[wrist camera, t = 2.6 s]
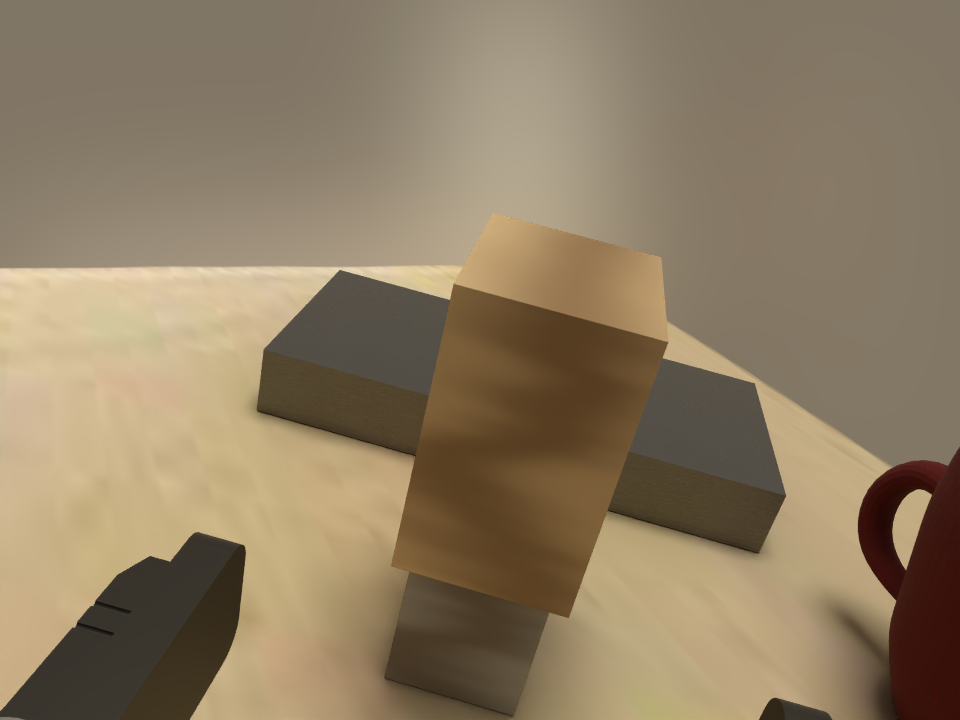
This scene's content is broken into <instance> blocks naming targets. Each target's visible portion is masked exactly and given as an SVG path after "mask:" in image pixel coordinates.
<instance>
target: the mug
mask: <svg viewBox="0 0 960 720" xmlns="http://www.w3.org/2000/svg"><path fill="white" fill-rule="evenodd" d="M917 489H922V490H925V491H927V492H929V493H930V494H932V497H931V499H930V502H929V504H928V506H927V509H926V512H925V514H924V517H923V520H922V523H921V526H920V529H919V532H918V536H917V539H916V542H915V545H914V548H913V551H912V554H911V557H910V560H909V563H908V567H907V570H905V568H904V567H903V565H902V564H901V562H900V560H899V558H898V555H897V553H896V550H895V547H894V543H893V535H892V528H893V521H894V517H895V514H896V511H897V509H898V507H899V505H900V503H901V502H902V500H903V499H904V498H905V497H906V496H907V495H908V494H909V493H911V492H913V491H915V490H917ZM858 535H859V542H860V545H861V549H862V552H863V554H864V557H865V559H866V561H867V563H868V565H869V566H870V568H871V570H872V571H873V573H874V574H875V576H876V577H877V578H878V580H879V581H880V582H881V584H882V585H883V586H884V587H885V589H886V590H887V591H888V592H889V593H890V594H891V595H892V597H893V598H894V599H895V600H896V604H895V607H894V611H893V614H892V618H891V623H890V630H889V663H890V674H891V684H892V695H893V703H894V707H895V710H896V713H897V715H898V718H899V720H960V448H959V449H958V450H957V452H956V454H955V455H954V457H953V459H952V460H951V462H950V464H949V465H948V466H946V465H944V464H941V463H939V462H932V461H925V460H921V461H911V462H907V463H904V464H900V465H897V466H895V467H893V468H891V469H889V470H888V471H886V472H885V473H884V474H883V475H881V476H880V477H879V478H878V479H876V481H875V482H874V483H873V484H872V485H871V487H870V488H869V489H868V491H867V493H866V495H865V497H864V499H863V502H862V505H861V508H860V512H859V517H858Z"/></svg>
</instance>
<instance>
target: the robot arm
mask: <svg viewBox="0 0 960 720" xmlns="http://www.w3.org/2000/svg"><path fill="white" fill-rule="evenodd" d="M245 556H246V550H245V546H244V545H241V544H238V543H234V542H231V541H227V540H224V539H220V538H217V537H213V536H209V535H206V534H202V533H199V532H196V533H194V534H193V535H192V536H191V537H190V538H189V539H188V540H187V541H186V543H185V544H184V545H183V546H182V548H181V549H180V550H179V552H178V553H177V554H176V555H175V557H174V558H173V559H172V560H171V562H169V561H166V560H162V559H159V558H155V557H152V556H149V557H148V558H146V559H144V560H142V561H141V562H139V563H137V564H135V565H134V566H132V567H130V568H128V569H127V570H125V571H123V572H122V573H120V574H118V575H117V576H116V577H115V578H114V580H113V581H112V582H111V583H110V584H109V585H108V587H107V588H106V589H105V590H104V591H103V592H102V594H101V595H100V596H99V597H98V598H97V599H96V601H95V604H94V606H90V608H89V609H88V610H87V611H86V612H85V613H84V615H83V616H82V617H81V618H80V619H79V620H78V622H77V625H76V627H75V628H72V629H71V630H70V631H69V632H68V633H67V634H66V636H65V637H64V638H63V639H62V640H61V641H60V643H59V644H58V645H57V646H56V647H55V648H54V650H53V651H52V652H51V653H50V654H49V655H48V657H47V658H46V659H45V660H44V661H43V662H42V664H41V665H40V666H39V667H38V668H37V670H36V671H35V672H34V673H33V674H32V675H31V677H30V678H29V679H28V680H27V681H26V682H25V684H24V685H23V686H22V687H21V688H20V689H19V691H18V692H17V693H16V694H15V695H14V696H13V698H12V699H11V700H10V701H9V702H8V703H7V705H6V706H5V707H4V708H3V709H2V710H1V711H0V720H190V718H191V716H192V715H193V713H194V711H195V710H196V708H197V706H198V705H199V703H200V701H201V700H202V698H203V696H204V695H205V693H206V691H207V689H208V688H209V686H210V684H211V683H212V681H213V679H214V678H215V676H216V674H217V673H218V671H219V669H220V668H221V666H222V664H223V662H224V661H225V659H226V657H227V655H228V652H229V650H230V648H231V645H232V642H233V640H234V637H235V633H236V630H237V626H238V620H239V612H240V603H241V594H242V584H243V575H244V566H245ZM759 720H832V719H831V717H830V715H829V714H828V713H826V712H824V711H821V710H817V709H814V708H810V707H807V706H803V705H800V704H796V703H793V702H789V701H785V700H782V699H778V698H773V699H771V700H770V701H769V702H768V704H767V705H766V707H765V709H764V711H763V713H762V715H761V717H760V719H759Z"/></svg>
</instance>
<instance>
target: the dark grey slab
mask: <svg viewBox="0 0 960 720" xmlns="http://www.w3.org/2000/svg"><path fill="white" fill-rule="evenodd" d="M449 303H450V300H448V299H444V298H440V297H437V296H433V295H429V294H426V293H422V292H418V291H415V290H411V289H407V288H404V287H400V286H396V285H393V284H389V283H385V282H382V281H378V280H374V279H371V278H367V277H363V276H360V275H356V274H352V273H349V272H345V271H342V270H339V271H338V272H337V273H336V275H335V276H334V277H333V278H332V279H331V280H330V281H329V282H328V283H327V284H326V285H325V286H324V287H323V288H322V289H321V290H320V291H319V292H318V293H317V294H316V295H315V296H314V298H313V299H312V300H311V301H310V302H309V303H308V304H307V305H306V306H305V307H304V308H303V309H302V310H301V311H300V312H299V313H298V314H297V315H296V316H295V317H294V318H293V319H292V321H291V322H290V323H289V324H288V325H287V326H286V327H285V328H284V329H283V330H282V331H281V332H280V333H279V334H278V335H277V336H276V337H275V338H274V339H273V340H272V341H271V342H270V344H269V345H268V346H267V347H266V348H265V349H264V352H263V361H262V370H261V379H260V387H259V396H258V405H257V410H258V411H261V412H265V413H268V414H272V415H275V416H279V417H282V418H286V419H289V420H293V421H296V422H300V423H303V424H307V425H310V426H314V427H317V428H321V429H324V430H328V431H331V432H335V433H338V434H342V435H345V436H349V437H353V438H356V439H360V440H363V441H367V442H370V443H374V444H377V445H381V446H384V447H388V448H391V449H395V450H398V451H402V452H405V453H409V454H412V455H416V452H417V447H418V443H419V438H420V434H421V429H422V425H423V420H424V416H425V411H426V407H427V402H428V398H429V393H430V389H431V384H432V380H433V375H434V371H435V366H436V362H437V357H438V352H439V348H440V343H441V339H442V334H443V330H444V325H445V321H446V316H447V312H448V307H449ZM785 497H786V494H785V490H784V486H783V483H782V479H781V476H780V472H779V469H778V465H777V461H776V458H775V454H774V451H773V447H772V444H771V440H770V437H769V433H768V429H767V426H766V422H765V419H764V415H763V412H762V408H761V404H760V401H759V397H758V394H757V390H756V387H755V383H751V382H747V381H744V380H740V379H736V378H733V377H729V376H725V375H722V374H718V373H714V372H711V371H707V370H703V369H700V368H696V367H692V366H689V365H685V364H682V363H678V362H674V361H671V360H667V359H663V358H662V361H661V364H660V366H659V369H658V372H657V375H656V377H655V380H654V383H653V386H652V388H651V391H650V394H649V397H648V399H647V402H646V405H645V408H644V411H643V413H642V416H641V419H640V422H639V424H638V427H637V430H636V433H635V435H634V438H633V441H632V444H631V447H630V449H629V452H628V455H627V458H626V460H625V463H624V466H623V469H622V471H621V474H620V477H619V480H618V482H617V485H616V488H615V491H614V494H613V496H612V499H611V502H610V505H609V507H608V510H609V511H613V512H616V513H620V514H623V515H627V516H630V517H634V518H638V519H641V520H645V521H648V522H652V523H655V524H659V525H662V526H666V527H669V528H673V529H676V530H680V531H683V532H687V533H690V534H694V535H697V536H701V537H704V538H708V539H711V540H715V541H718V542H722V543H725V544H729V545H733V546H736V547H740V548H743V549H747V550H750V551H754V552H757V553H759V551H760V549H761V547H762V545H763V543H764V541H765V539H766V537H767V535H768V532H769V530H770V528H771V526H772V524H773V522H774V520H775V518H776V516H777V514H778V512H779V510H780V507H781V505H782V503H783V501H784V499H785Z"/></svg>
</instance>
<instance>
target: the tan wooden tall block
mask: <svg viewBox="0 0 960 720" xmlns="http://www.w3.org/2000/svg"><path fill="white" fill-rule="evenodd" d="M667 344H668V333H667V321H666V310H665V298H664V286H663V275H662V263H661V258H660V257H657V256H653V255H649V254H645V253H642V252H638V251H634V250H631V249H627V248H623V247H619V246H616V245H612V244H608V243H604V242H601V241H597V240H593V239H589V238H586V237H582V236H578V235H574V234H571V233H567V232H563V231H559V230H556V229H552V228H548V227H544V226H541V225H537V224H533V223H529V222H526V221H521V220H518V219H514V218H511V217H507V216H503V215H500V214H496V213H493V215H492V217H491V219H490V220H489V222H488V224H487V226H486V227H485V229H484V231H483V233H482V234H481V236H480V238H479V240H478V242H477V243H476V245H475V247H474V249H473V251H472V252H471V254H470V256H469V258H468V259H467V261H466V263H465V265H464V266H463V268H462V270H461V272H460V273H459V275H458V277H457V279H456V281H455V282H454V285H453V289H452V294H451V298H450V303H449V307H448V312H447V316H446V321H445V325H444V330H443V334H442V339H441V343H440V348H439V352H438V357H437V362H436V366H435V371H434V375H433V380H432V384H431V389H430V393H429V398H428V402H427V407H426V411H425V416H424V420H423V425H422V429H421V434H420V438H419V443H418V447H417V452H416V456H415V461H414V465H413V470H412V474H411V479H410V483H409V488H408V492H407V497H406V501H405V506H404V510H403V515H402V520H401V524H400V529H399V533H398V538H397V542H396V547H395V551H394V556H393V560H392V565H391V566H392V567H396V568H399V569H402V570H406V571H409V576H408V581H407V585H406V589H405V593H404V598H403V602H402V606H401V610H400V615H399V619H398V623H397V627H396V632H395V636H394V640H393V644H392V648H391V653H390V657H389V661H388V665H387V670H386V674H385V678H387V679H391V680H394V681H397V682H401V683H404V684H407V685H411V686H414V687H417V688H421V689H424V690H428V691H431V692H434V693H438V694H441V695H444V696H448V697H451V698H454V699H458V700H461V701H464V702H468V703H471V704H474V705H478V706H481V707H484V708H488V709H491V710H494V711H498V712H501V713H504V714H508V715H511V716H513V715H514V713H515V710H516V707H517V704H518V701H519V698H520V695H521V692H522V689H523V687H524V684H525V681H526V678H527V675H528V672H529V669H530V666H531V663H532V660H533V658H534V655H535V652H536V649H537V646H538V643H539V640H540V637H541V634H542V632H543V629H544V626H545V623H546V620H547V617H548V614H549V612H550V613H553V614H557V615H560V616H564V617H567V618H569V615H570V613H571V610H572V607H573V604H574V601H575V599H576V596H577V593H578V590H579V588H580V585H581V582H582V579H583V577H584V574H585V571H586V568H587V566H588V563H589V560H590V557H591V554H592V552H593V549H594V546H595V543H596V541H597V538H598V535H599V532H600V530H601V527H602V524H603V521H604V518H605V516H606V513H607V510H608V507H609V505H610V502H611V499H612V496H613V494H614V491H615V488H616V485H617V482H618V480H619V477H620V474H621V471H622V469H623V466H624V463H625V460H626V458H627V455H628V452H629V449H630V447H631V444H632V441H633V438H634V435H635V433H636V430H637V427H638V424H639V422H640V419H641V416H642V413H643V411H644V408H645V405H646V402H647V399H648V397H649V394H650V391H651V388H652V386H653V383H654V380H655V377H656V375H657V372H658V369H659V366H660V364H661V361H662V358H663V355H664V352H665V350H666V347H667Z"/></svg>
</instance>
